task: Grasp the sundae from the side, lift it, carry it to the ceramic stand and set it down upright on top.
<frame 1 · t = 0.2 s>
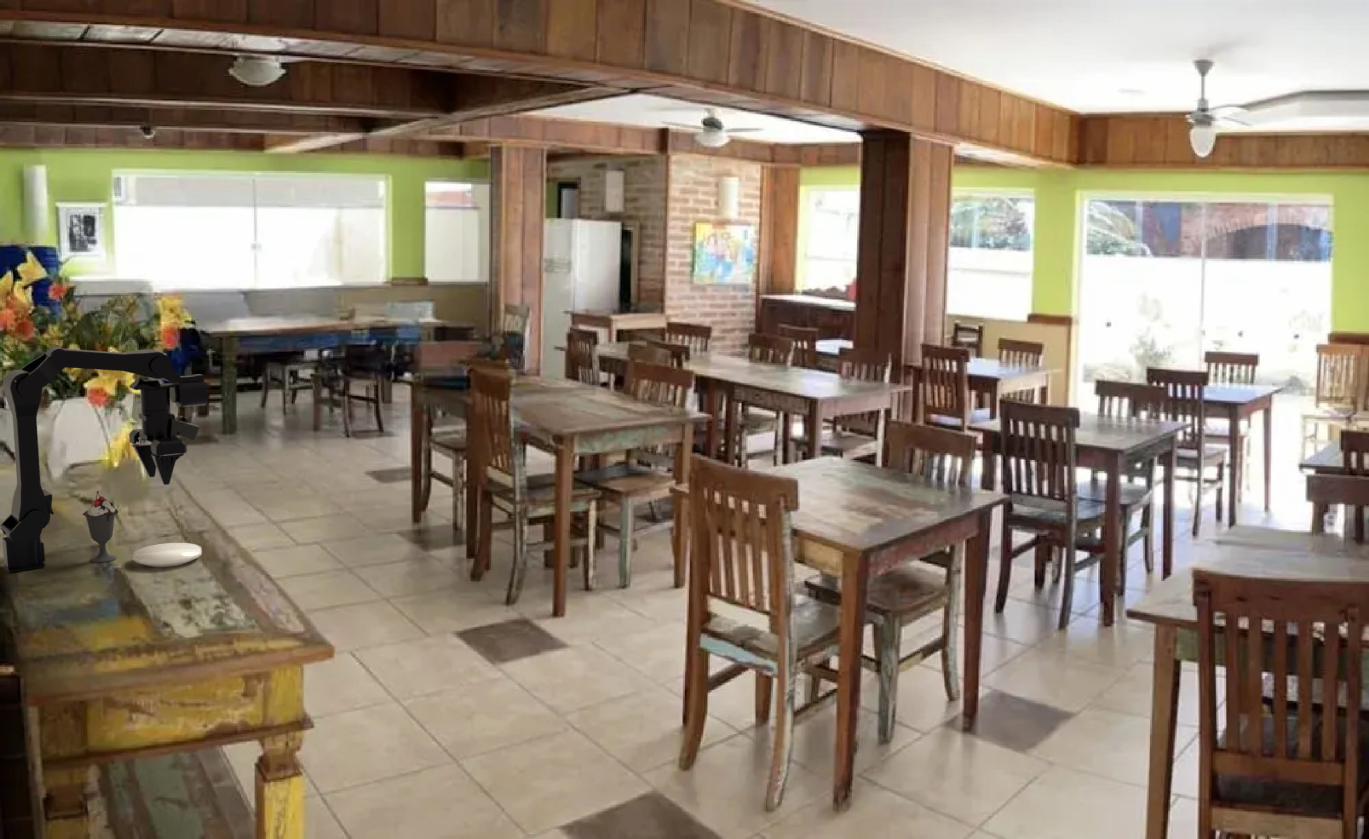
hand: (159, 480, 257), 14 cm above the table, fingers open, 9 cm apart
sundae: (103, 560, 248), on the table
stand: (168, 560, 248), on the table
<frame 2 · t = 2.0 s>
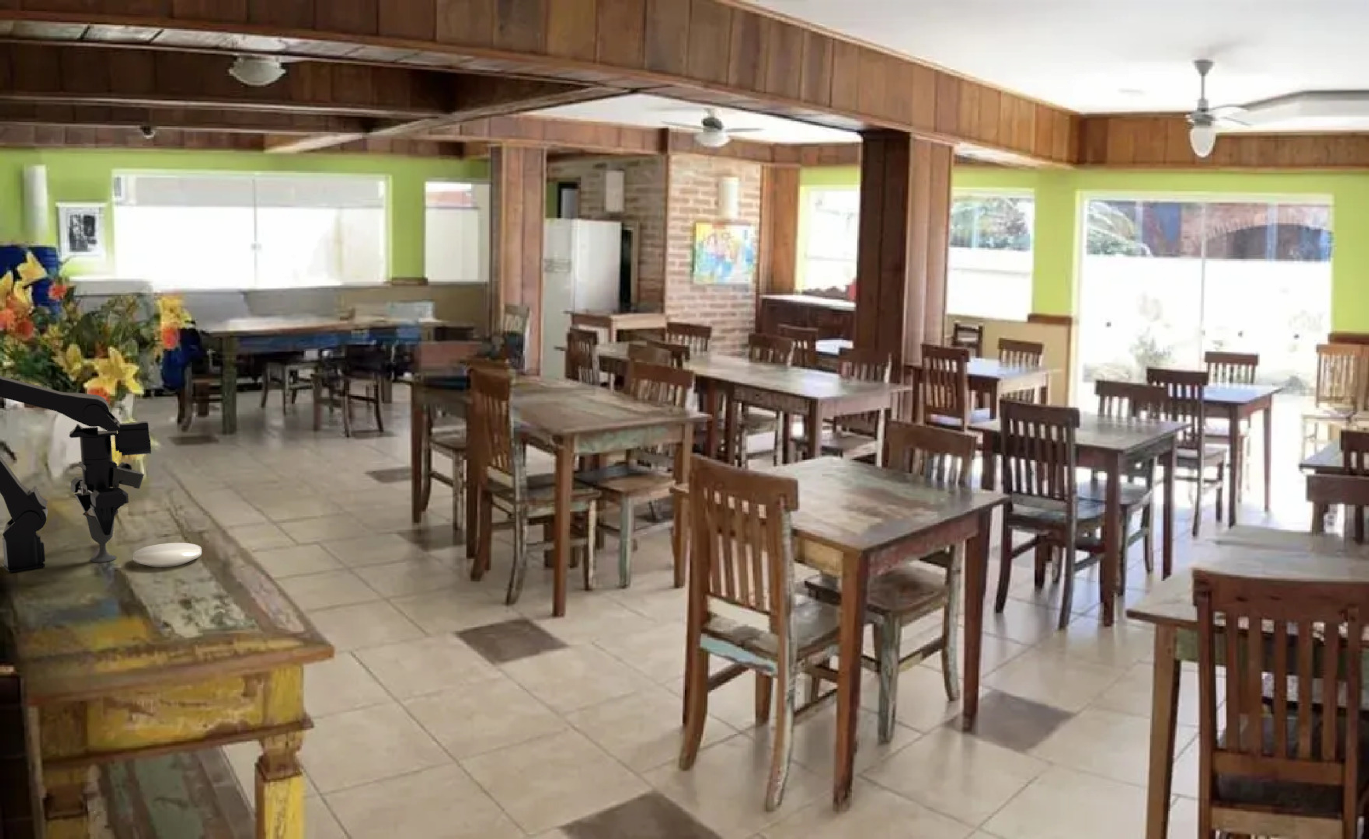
hand: (101, 531, 247), 6 cm above the table, fingers closed on sundae, 7 cm apart
sundae: (103, 560, 248), on the table, touching gripper
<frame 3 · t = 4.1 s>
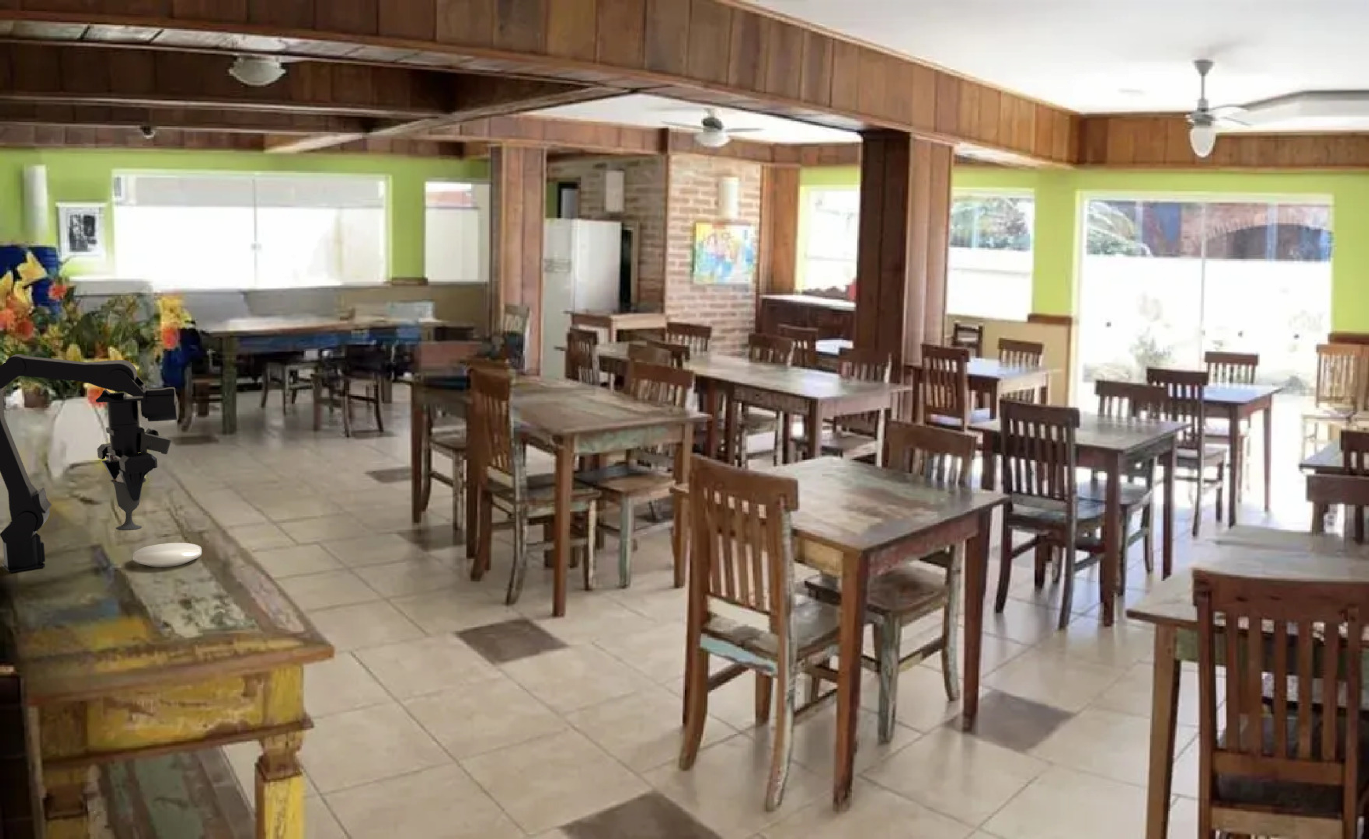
hand: (129, 497, 246), 13 cm above the table, fingers closed on sundae, 7 cm apart
sundae: (129, 529, 246), point 7 cm above the table, touching gripper
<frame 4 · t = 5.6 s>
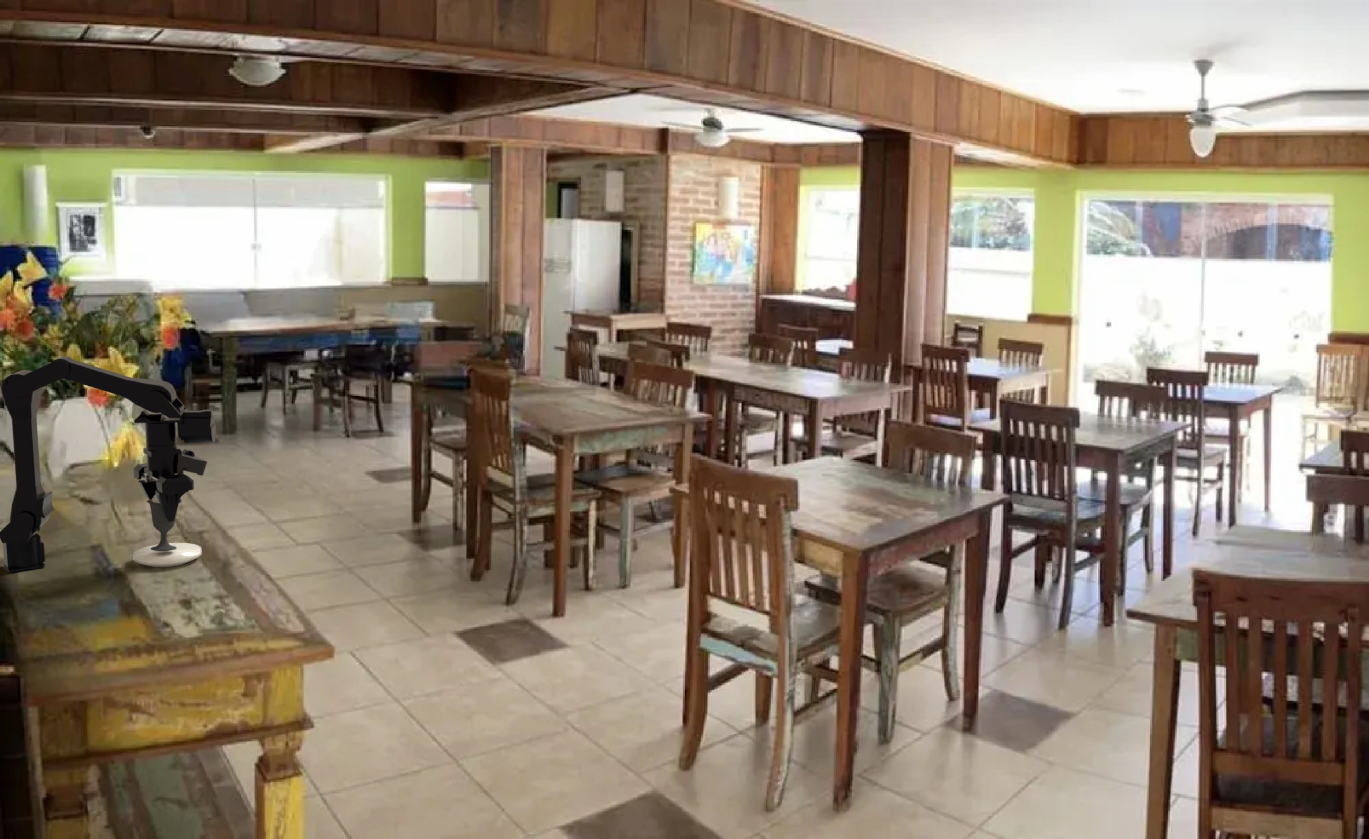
hand: (165, 517, 246), 9 cm above the table, fingers closed on sundae, 7 cm apart
sundae: (163, 549, 246), point 3 cm above the table, touching gripper
when the fingers open (9 cm above the table, at t = 6.2 s): sundae drops 1 cm, resting on stand.
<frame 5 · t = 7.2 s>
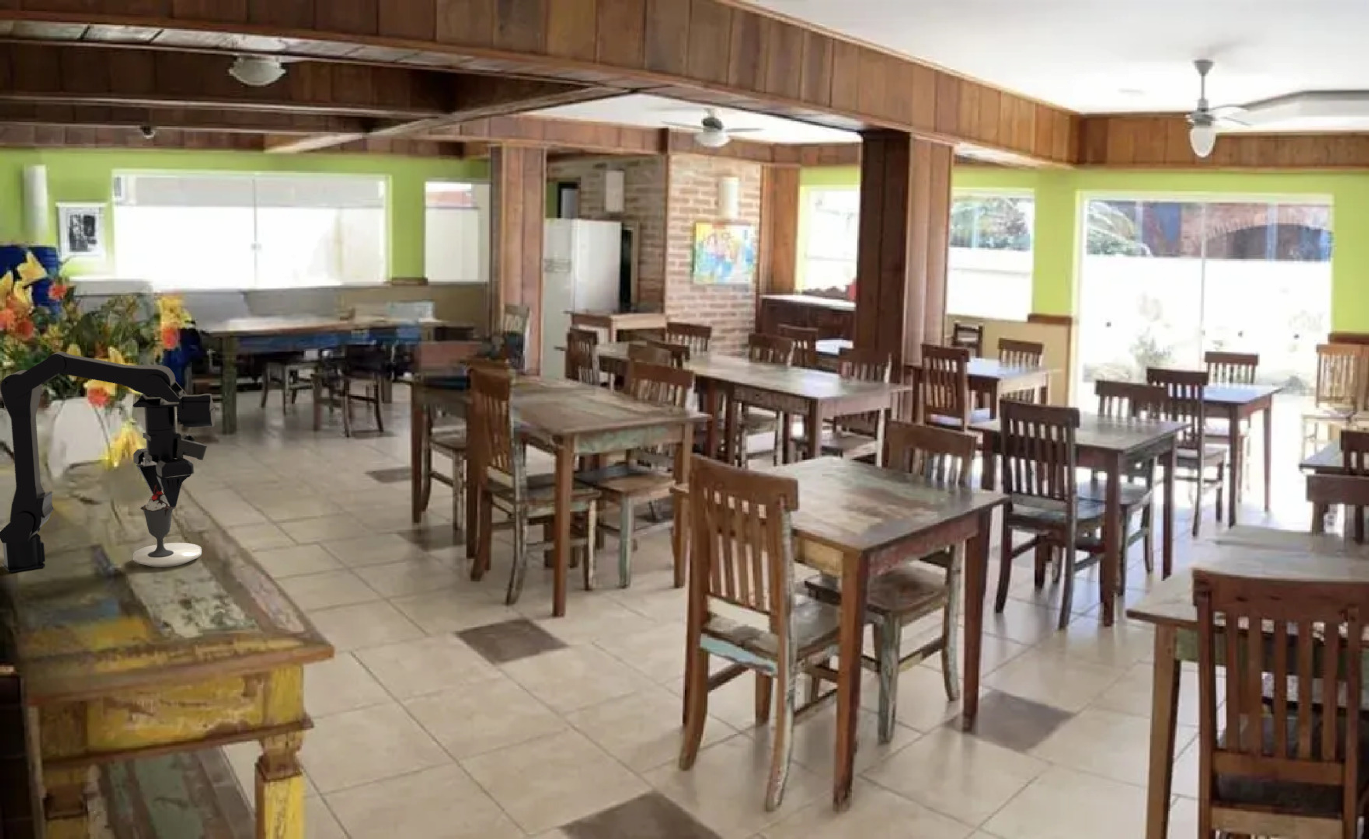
hand: (165, 502, 246), 12 cm above the table, fingers open, 9 cm apart
sundae: (161, 555, 246), point 2 cm above the table, touching stand
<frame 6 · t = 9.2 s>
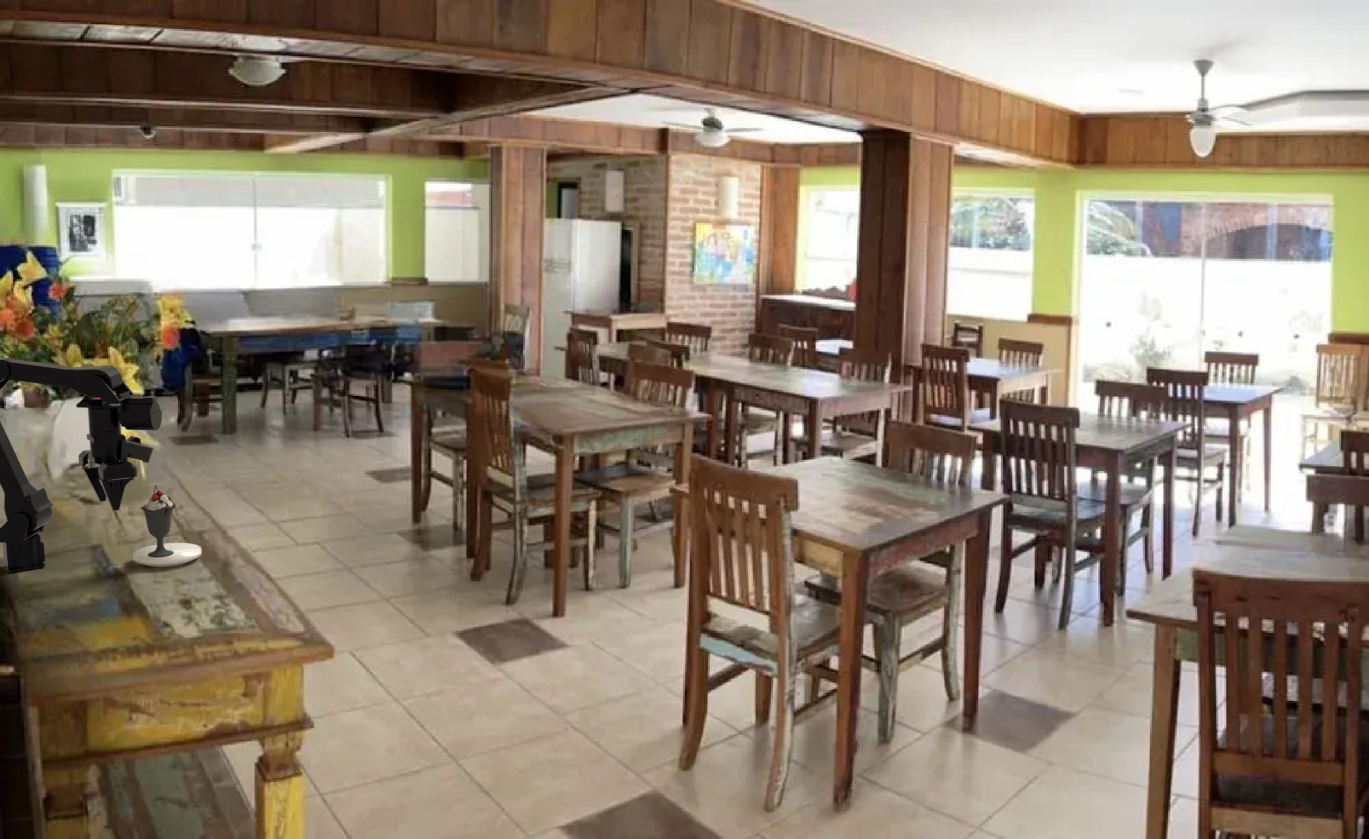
hand: (109, 505, 241), 13 cm above the table, fingers open, 9 cm apart
nothing on the table moved.
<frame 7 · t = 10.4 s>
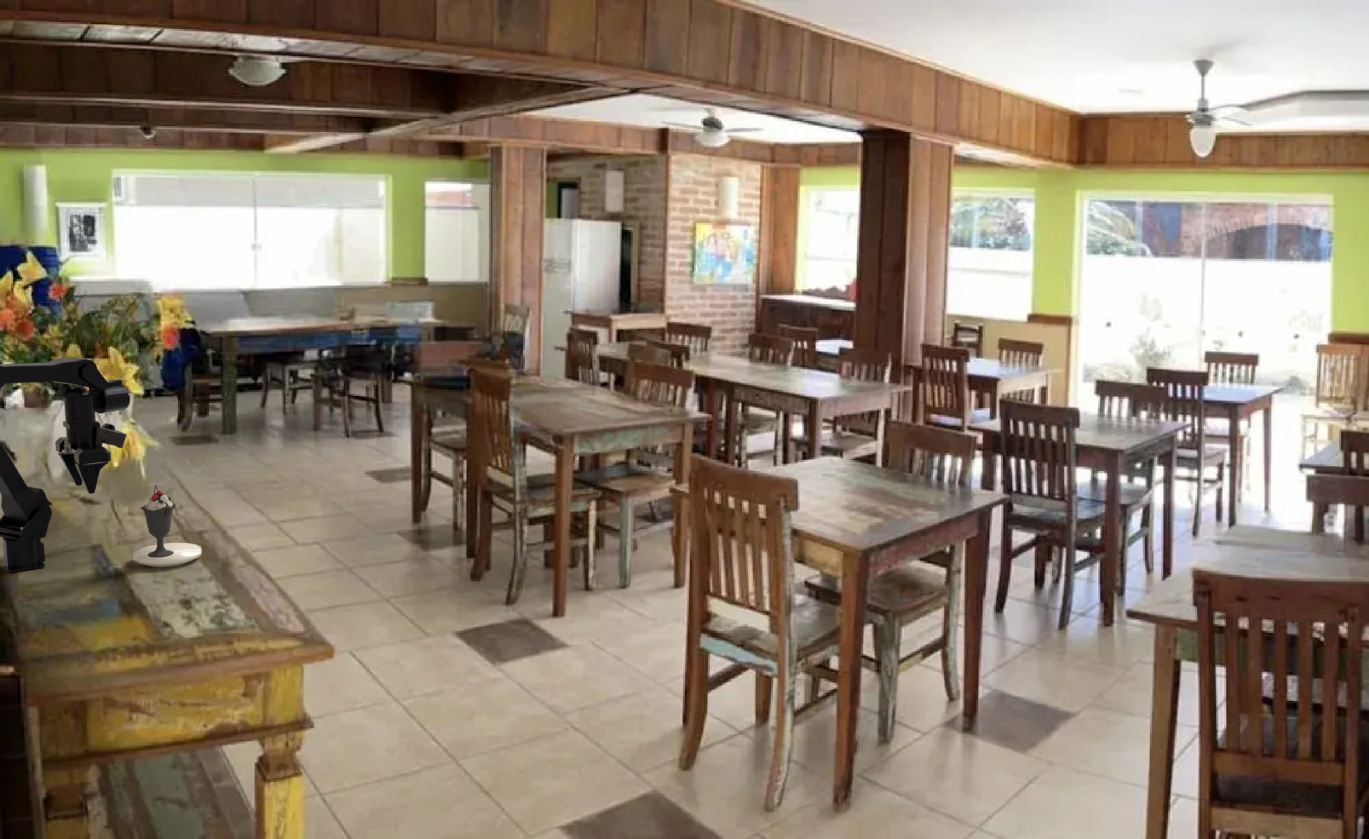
hand: (85, 489, 253), 13 cm above the table, fingers open, 9 cm apart
nothing on the table moved.
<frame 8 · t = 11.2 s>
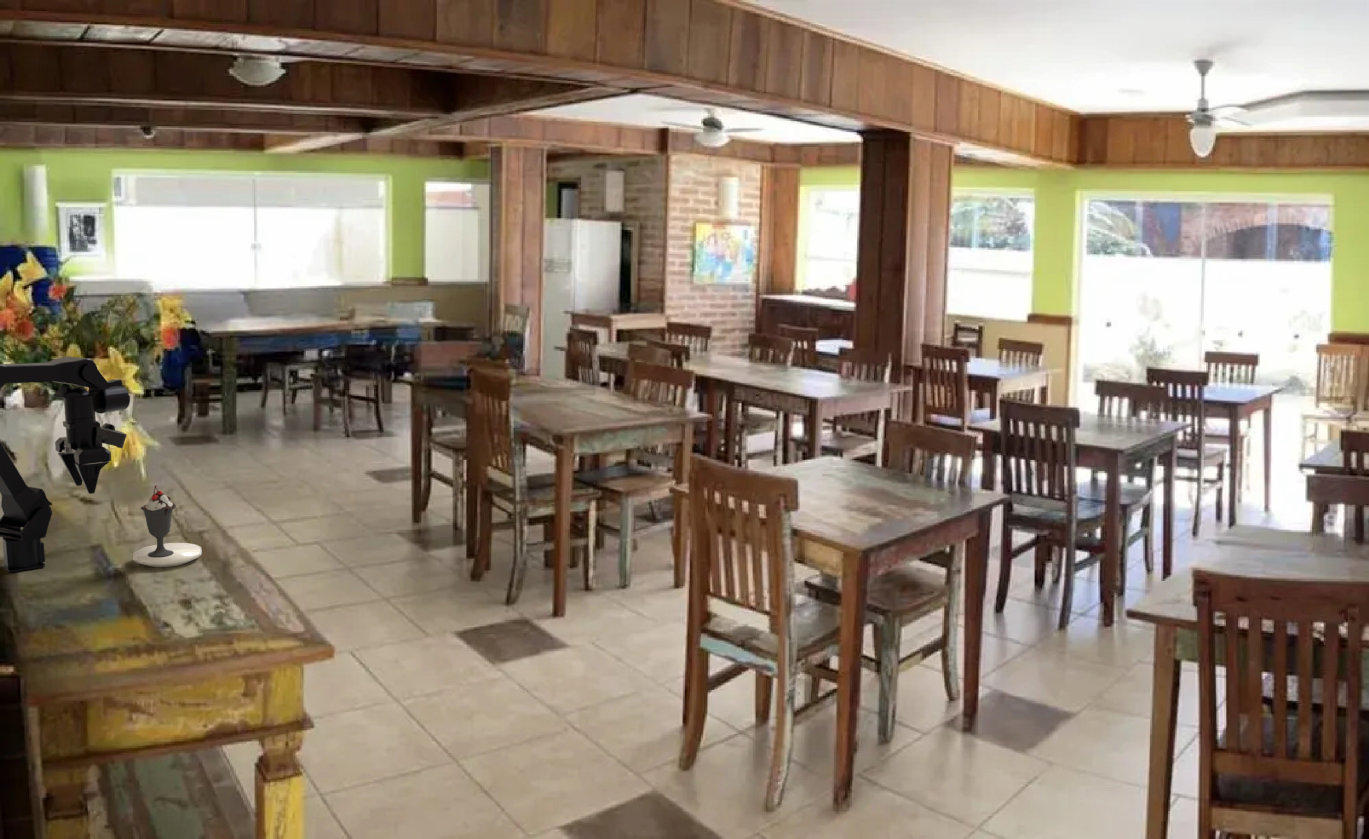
hand: (85, 489, 253), 13 cm above the table, fingers open, 9 cm apart
nothing on the table moved.
at the end: sundae inside the target area on the stand (2.1 cm from its centre), point 1.8 cm above the stand's base; sundae tilted 0°; the gripper is holding nothing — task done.
